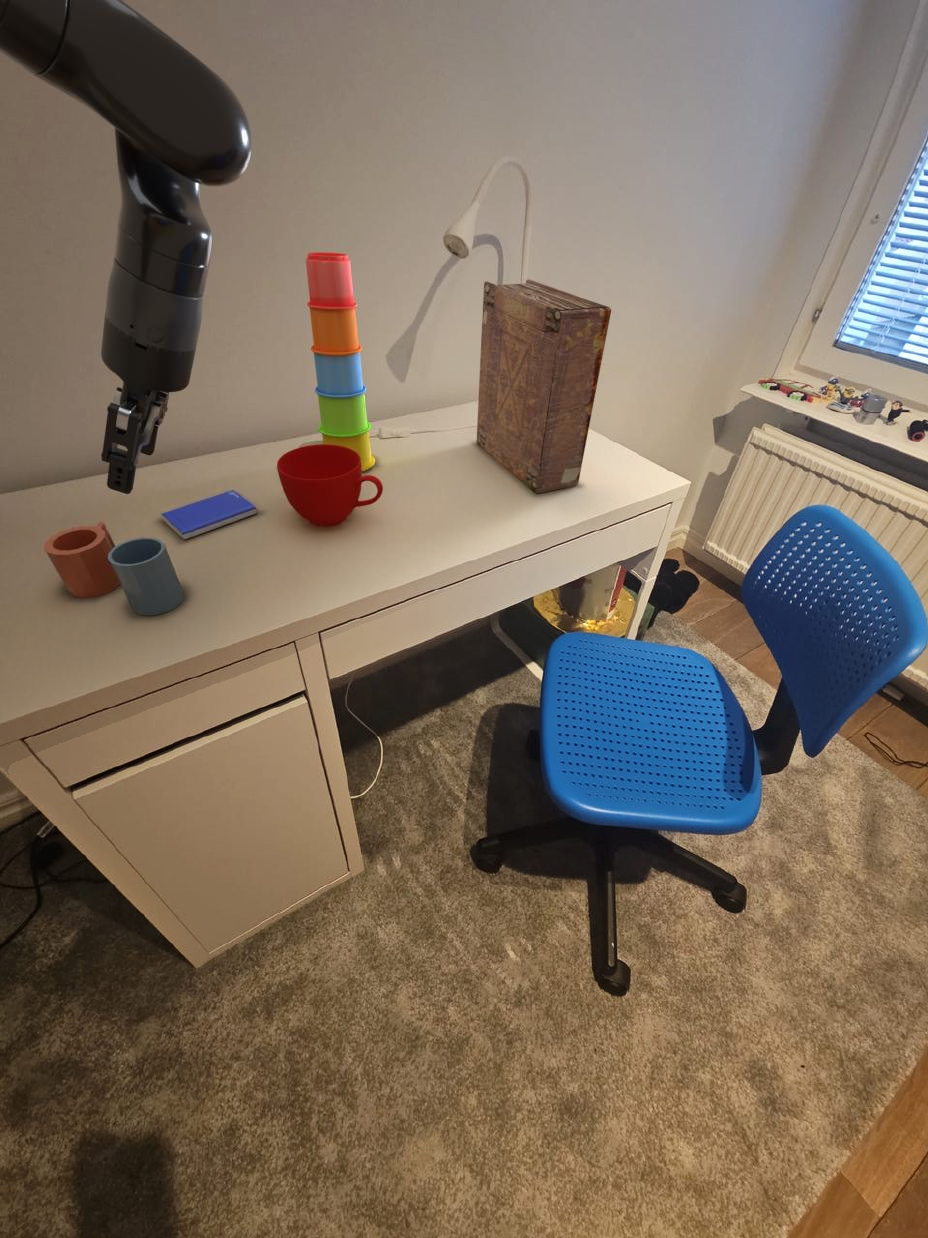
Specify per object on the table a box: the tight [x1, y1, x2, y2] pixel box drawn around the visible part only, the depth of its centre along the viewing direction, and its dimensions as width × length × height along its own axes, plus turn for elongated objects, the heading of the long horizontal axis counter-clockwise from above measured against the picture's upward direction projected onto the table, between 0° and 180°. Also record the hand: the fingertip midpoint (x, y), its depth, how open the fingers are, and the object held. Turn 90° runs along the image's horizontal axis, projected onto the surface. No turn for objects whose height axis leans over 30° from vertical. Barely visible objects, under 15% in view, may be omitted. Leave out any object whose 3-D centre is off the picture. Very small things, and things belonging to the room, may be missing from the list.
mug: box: [43, 521, 121, 598], centre depth 74 cm, size 10×7×7 cm
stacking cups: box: [305, 251, 376, 473], centre depth 95 cm, size 10×10×35 cm
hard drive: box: [160, 489, 258, 541], centre depth 89 cm, size 2×8×12 cm
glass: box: [108, 536, 185, 617], centre depth 70 cm, size 6×6×8 cm
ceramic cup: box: [276, 443, 384, 528], centre depth 87 cm, size 13×17×10 cm
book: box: [476, 278, 612, 495], centre depth 99 cm, size 25×9×30 cm, turn 25°
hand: (131, 469), depth 59 cm, fingers open, 8 cm apart
